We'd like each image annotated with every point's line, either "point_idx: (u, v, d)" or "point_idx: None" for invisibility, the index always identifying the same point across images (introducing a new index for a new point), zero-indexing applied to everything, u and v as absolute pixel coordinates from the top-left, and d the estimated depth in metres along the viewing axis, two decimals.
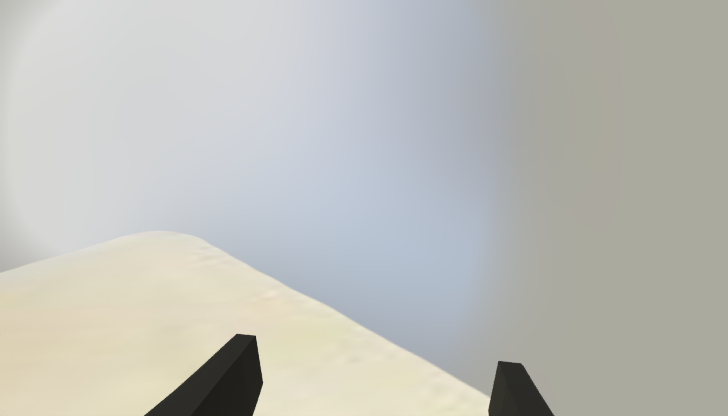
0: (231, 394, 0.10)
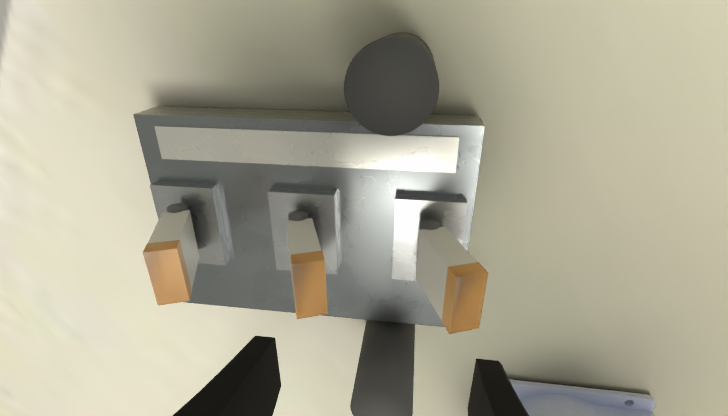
0: (252, 397, 0.10)
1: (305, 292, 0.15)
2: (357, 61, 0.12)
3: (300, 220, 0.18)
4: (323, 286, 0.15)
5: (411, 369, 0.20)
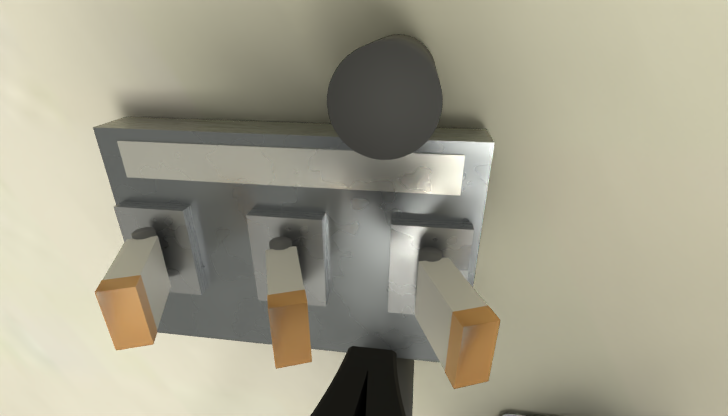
0: (362, 410, 0.10)
1: (285, 339, 0.13)
2: (342, 70, 0.10)
3: (282, 249, 0.15)
4: (306, 331, 0.13)
5: (409, 412, 0.18)
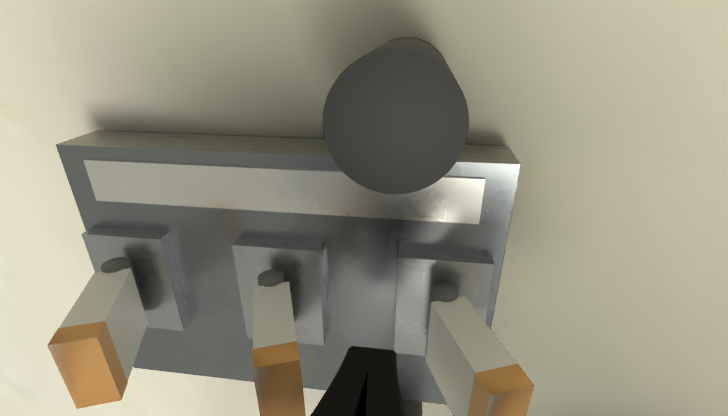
0: (362, 410, 0.10)
1: (274, 401, 0.11)
2: (342, 85, 0.08)
3: (273, 286, 0.13)
4: (299, 392, 0.11)
5: None
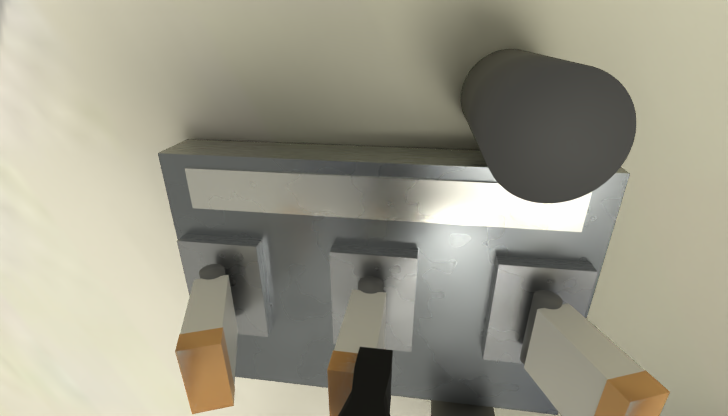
0: None
1: None
2: (511, 98, 0.08)
3: (370, 293, 0.13)
4: None
5: None
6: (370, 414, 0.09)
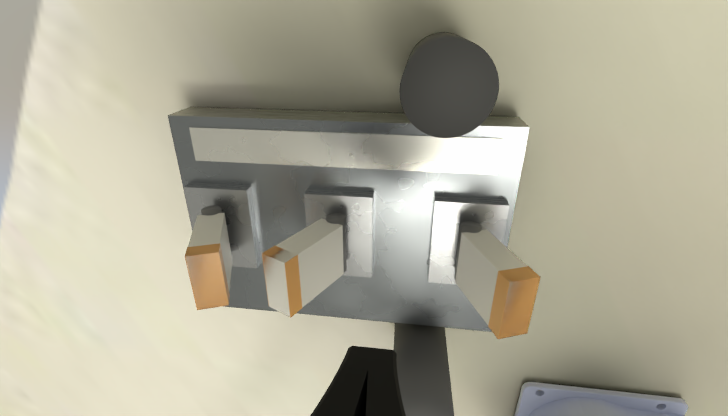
0: (362, 410, 0.10)
1: (272, 285, 0.16)
2: (415, 62, 0.12)
3: (330, 223, 0.17)
4: (285, 288, 0.15)
5: (449, 375, 0.20)
6: None
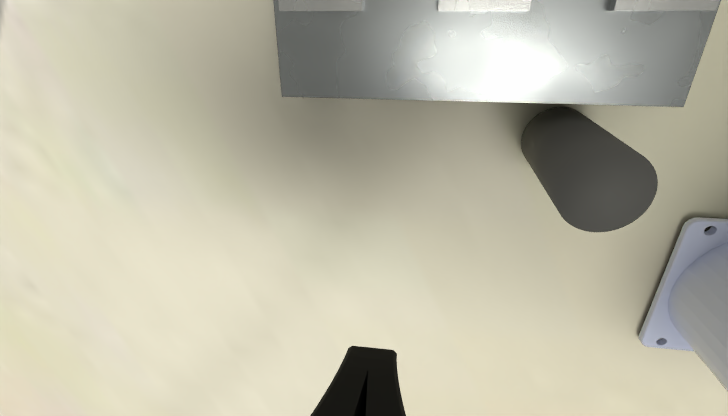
0: (362, 410, 0.10)
1: None
2: None
3: None
4: None
5: None
6: None
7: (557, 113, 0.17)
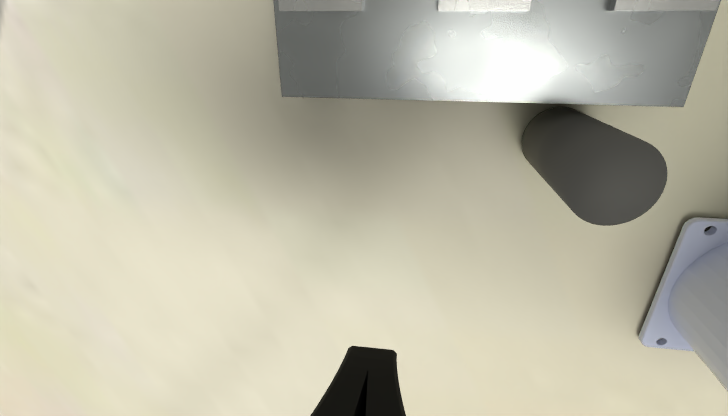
0: (362, 410, 0.10)
1: None
2: None
3: None
4: None
5: None
6: None
7: (560, 111, 0.17)
